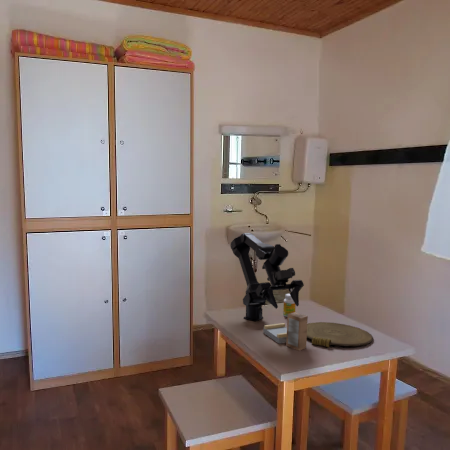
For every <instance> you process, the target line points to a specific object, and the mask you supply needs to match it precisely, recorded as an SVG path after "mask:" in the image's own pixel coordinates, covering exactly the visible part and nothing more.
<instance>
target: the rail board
mask: <svg viewBox="0 0 450 450" xmlns="http://www.w3.org/2000/svg"><path fill="white" fill-rule="evenodd" d="M262 333H263V334H265V335H266V336H267V337H269V338H270V339H272V340H273V342H276V343H277V344H285V343H286V342H287V326H286V323H284V322H282V323H273V324H266V325H265V324H264V326H263V332H262Z"/></svg>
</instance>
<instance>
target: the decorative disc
mask: <svg viewBox="0 0 450 450" xmlns="http://www.w3.org/2000/svg"><path fill="white" fill-rule="evenodd" d="M307 339H309V340H311V344H312V345H315V346H320V347H326V348H330V347H331V346H339V347H359V346H365V345H368V344H370V343H371V342H372V341H373V340H374V337H373V335H372V334H371V333H370V332H368V331H367V330H364V329H362V328H359V327H357V326H353V325H349V324H344V323H337V322H327V321H326V322H324V321H323V322H322V321H320V322H307Z"/></svg>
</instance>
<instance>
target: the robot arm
mask: <svg viewBox="0 0 450 450" xmlns="http://www.w3.org/2000/svg"><path fill="white" fill-rule="evenodd" d="M230 249H231V251H232V253H233V255H234V256H235V257H237V258H238V261H239V264H240V268H241V271H242V273H243V276H244V280H245V284H246V289H245V295H244V297H243V298H242V304H243V306H245V316H244V317H243V319H246V320H250V321H253V322H258V321H260V320H262V319H264V316H263V306H265V305H266V302H268V303H269V304H270V305H271V306H272V307H274V308H275V309H278V307H279V306H278V303H277V301H276V297H275V296H274V291H281V290H282V291H283V290H288V291H289V294H290V296H291V297H292V299H293V301H294V303H295V304H296V307H299V306H300V302H299V299H300V298H299V293H300V291H301V289H302V288H303V287H304V286H305V283H304V281H303V280H302V279H293V277H295V276H296V271H295V269H294V267H290V268H286V269H281V267H280V266H282V265H283V263H284V261H286V260H287V258H288V256H289V250H288V249H286V247H284V246H282V245H281V243H277V244H274V245H272V244H270V243H264V242H263V241H261V240H260V239H259V238H258V237H257V236H255V235H254V234H253V233H251V232H243V233H241V234H240V235H239V236H237V237H235V238H233V240H232V241H231V242H230ZM251 249H252V250H254V252H255V256H256V257H257V259H258V260H260V261H263V263H262V266H261V267H262V268H261V269H262V270H265V273H266V275H267V278H266V279H267V282H260V283H259V281H258V278H257V275H256V272H255V269H254V267H253V263H252V261H251V257H250V251H251ZM289 279H293V280H292V281H291V282H290V283H288V282H289V281H290V280H289Z"/></svg>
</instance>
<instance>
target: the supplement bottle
mask: <svg viewBox="0 0 450 450" xmlns="http://www.w3.org/2000/svg"><path fill="white" fill-rule="evenodd" d="M284 296H285V298H284V299H283V306H282V307H283V311H282V315H283V317H284V318H285V317H286V318H288V314H290V313H293V312H296V307H297V306H296V304H295V303H294V301H293V299H292V297H291V296H290V293H285V295H284Z"/></svg>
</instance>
